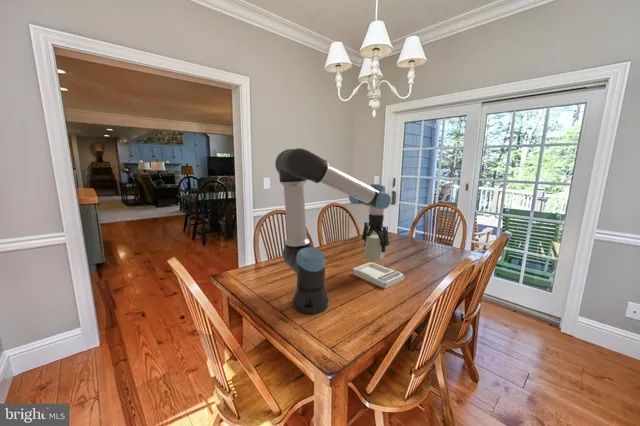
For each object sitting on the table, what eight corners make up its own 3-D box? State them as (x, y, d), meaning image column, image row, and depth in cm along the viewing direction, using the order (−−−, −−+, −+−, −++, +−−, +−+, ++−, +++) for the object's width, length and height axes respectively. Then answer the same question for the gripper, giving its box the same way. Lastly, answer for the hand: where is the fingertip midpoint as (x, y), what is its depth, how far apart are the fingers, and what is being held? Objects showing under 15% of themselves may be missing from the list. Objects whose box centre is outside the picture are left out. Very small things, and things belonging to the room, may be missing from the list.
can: (383, 261, 135) (384, 239, 132) (364, 260, 136) (366, 237, 134) (382, 255, 144) (383, 234, 141) (365, 254, 145) (366, 233, 143)
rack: (385, 288, 126) (385, 281, 125) (351, 273, 143) (352, 266, 142) (403, 279, 136) (404, 272, 136) (370, 266, 153) (371, 260, 152)
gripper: (398, 216, 130) (395, 259, 134) (365, 209, 146) (363, 248, 150) (389, 218, 125) (386, 262, 129) (355, 211, 141) (354, 251, 146)
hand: (374, 255), depth 140 cm, fingers closed on can, 9 cm apart
